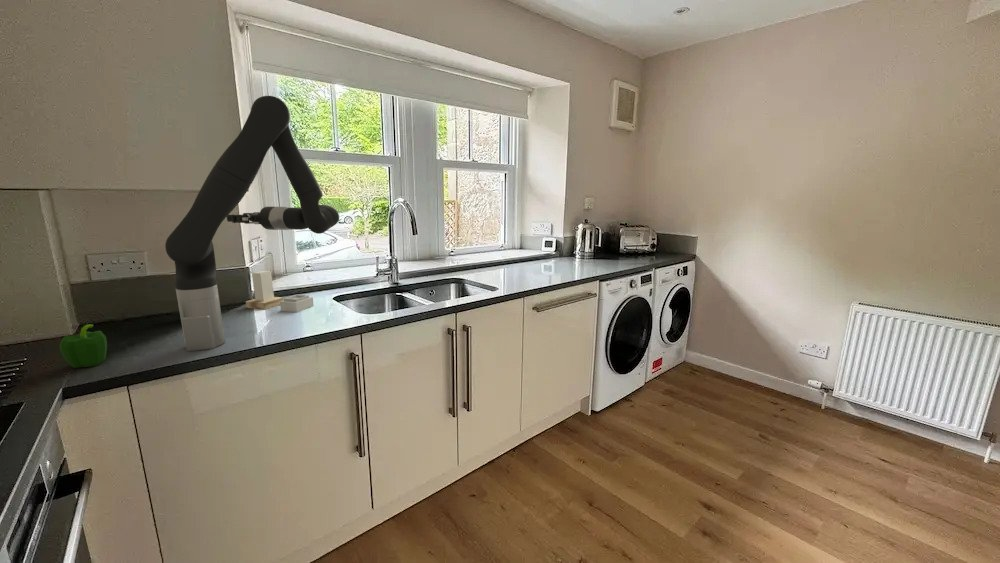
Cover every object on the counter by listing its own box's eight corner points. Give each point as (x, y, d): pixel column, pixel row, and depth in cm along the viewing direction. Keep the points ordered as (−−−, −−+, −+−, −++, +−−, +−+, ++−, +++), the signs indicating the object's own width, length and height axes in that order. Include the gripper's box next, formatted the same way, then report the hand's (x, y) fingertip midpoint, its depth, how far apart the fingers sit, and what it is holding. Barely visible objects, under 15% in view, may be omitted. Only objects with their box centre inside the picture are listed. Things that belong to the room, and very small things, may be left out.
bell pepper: (79, 373, 94) (70, 333, 92) (57, 369, 97) (47, 330, 95) (121, 359, 102) (113, 323, 100) (99, 356, 105) (91, 320, 103)
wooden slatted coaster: (283, 303, 158) (283, 297, 157) (265, 309, 149) (264, 303, 149) (265, 301, 160) (264, 296, 159) (246, 307, 151) (245, 301, 151)
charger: (263, 301, 151) (260, 273, 149) (255, 300, 152) (251, 272, 150) (274, 298, 156) (271, 271, 154) (266, 297, 157) (262, 270, 155)
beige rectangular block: (296, 312, 146) (295, 300, 145) (281, 310, 148) (279, 299, 147) (313, 305, 154) (312, 294, 153) (298, 304, 156) (297, 293, 155)
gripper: (294, 206, 134) (255, 205, 138) (259, 207, 120) (217, 206, 124) (296, 228, 135) (258, 227, 139) (262, 231, 122) (221, 230, 126)
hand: (239, 217), depth 132 cm, fingers open, 8 cm apart
